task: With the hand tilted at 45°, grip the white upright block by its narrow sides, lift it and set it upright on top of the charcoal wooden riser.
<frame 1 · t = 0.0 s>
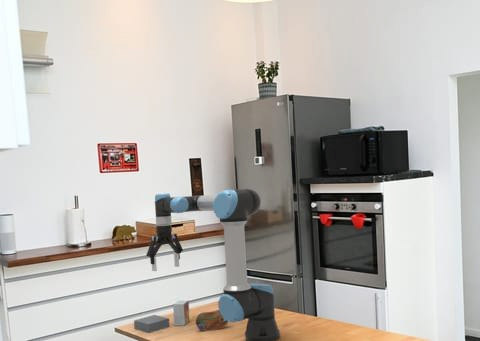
hand: (165, 268, 234), 28 cm above the table, tool pointing down, fingers open, 13 cm apart
tin: (212, 329, 225), on the table
riser: (151, 327, 233), on the table
white upright block: (182, 324, 237), on the table
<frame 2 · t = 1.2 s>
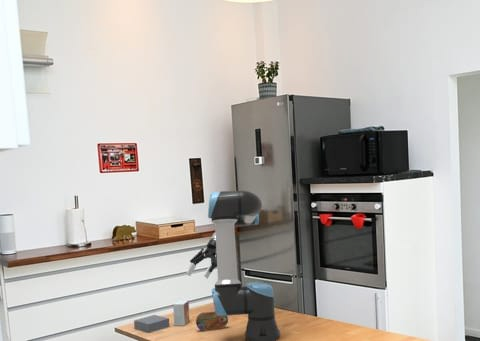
hand: (196, 275, 246), 22 cm above the table, tool tilted 45°, fingers open, 13 cm apart
nothing on the table moved.
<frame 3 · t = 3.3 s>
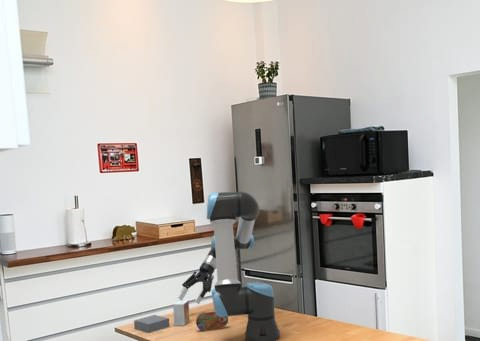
hand: (188, 300, 242), 10 cm above the table, tool tilted 45°, fingers open, 13 cm apart
nothing on the table moved.
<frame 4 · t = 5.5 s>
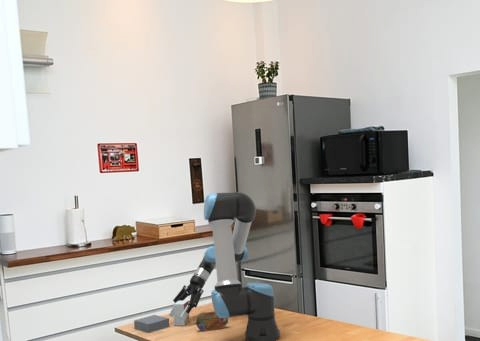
hand: (176, 316, 235), 4 cm above the table, tool tilted 45°, fingers closed on white upright block, 9 cm apart
white upright block: (182, 324, 237), on the table, touching gripper
everything else where it was.
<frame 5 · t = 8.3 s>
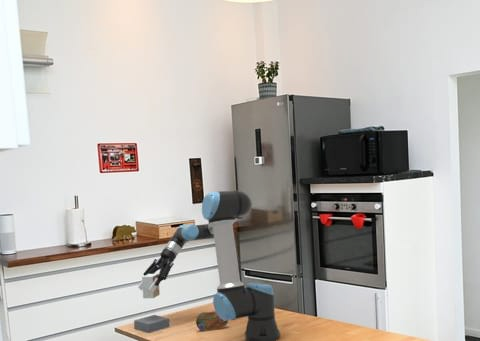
hand: (145, 289, 232), 19 cm above the table, tool tilted 45°, fingers closed on white upright block, 9 cm apart
white upright block: (151, 297, 234), point 15 cm above the table, touching gripper
everything else where it was.
when the fingers open (9 cm above the table, at t = 11.0 s): white upright block drops 1 cm, resting on riser.
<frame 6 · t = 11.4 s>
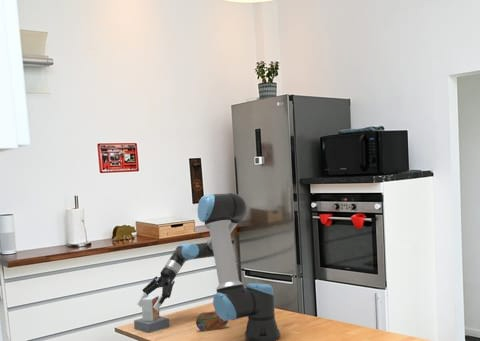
hand: (146, 307, 232), 10 cm above the table, tool tilted 45°, fingers open, 13 cm apart
white upright block: (151, 319, 233), point 4 cm above the table, touching riser
everything else where it was.
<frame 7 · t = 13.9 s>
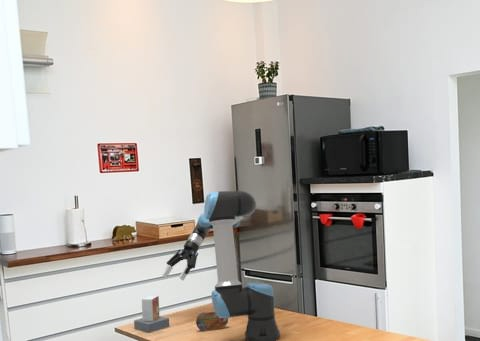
hand: (172, 277, 241), 22 cm above the table, tool tilted 45°, fingers open, 13 cm apart
nothing on the table moved.
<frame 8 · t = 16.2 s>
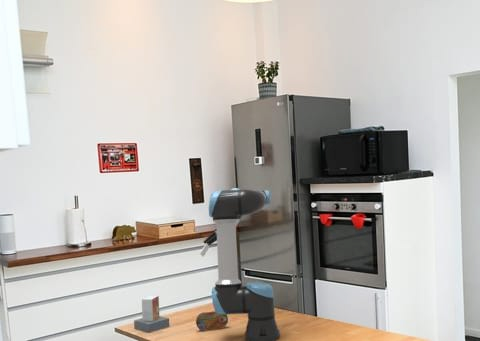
hand: (210, 255, 246), 32 cm above the table, tool tilted 45°, fingers open, 13 cm apart
nothing on the table moved.
at the end: white upright block inside the target area on the riser (0.3 cm from its centre), point 3.8 cm above the riser's base; white upright block tilted 0°; the gripper is holding nothing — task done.
